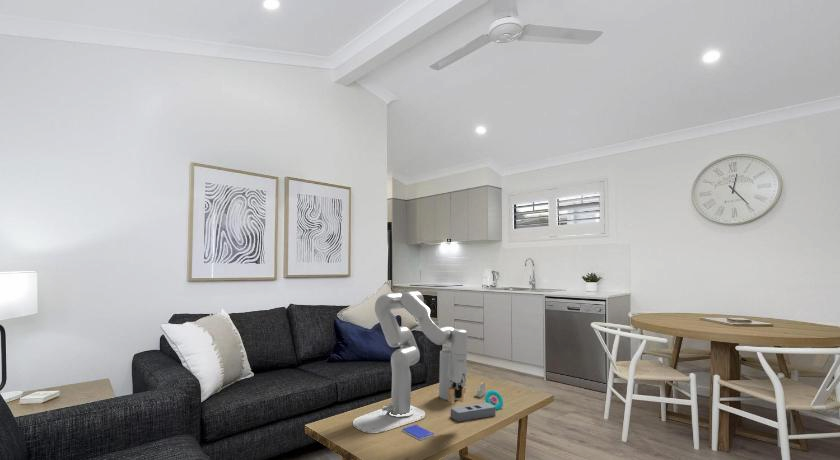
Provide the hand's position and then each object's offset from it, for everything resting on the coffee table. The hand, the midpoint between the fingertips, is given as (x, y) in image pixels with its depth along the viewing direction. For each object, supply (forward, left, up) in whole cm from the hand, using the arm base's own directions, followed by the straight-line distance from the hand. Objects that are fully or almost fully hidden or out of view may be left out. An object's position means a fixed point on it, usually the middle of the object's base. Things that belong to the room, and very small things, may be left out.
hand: (456, 396), depth 195 cm
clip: (0, 0, -3) cm, 3 cm away
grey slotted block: (+15, +8, -14) cm, 22 cm away
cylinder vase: (+19, +37, -14) cm, 44 cm away
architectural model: (+38, +33, -15) cm, 52 cm away
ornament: (+32, +14, -14) cm, 38 cm away
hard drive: (-19, 0, -15) cm, 24 cm away
